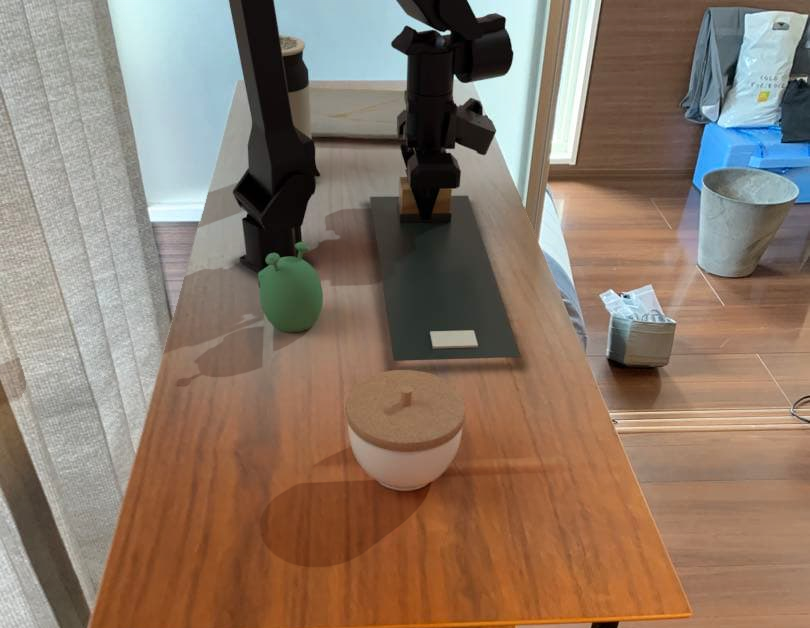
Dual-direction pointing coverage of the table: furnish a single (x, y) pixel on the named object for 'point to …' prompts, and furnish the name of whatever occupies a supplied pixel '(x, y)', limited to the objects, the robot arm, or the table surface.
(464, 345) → the smudge
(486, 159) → the table surface
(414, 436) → the trinket box
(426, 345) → the board
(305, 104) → the travel mug
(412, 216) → the eraser
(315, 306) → the alien toy
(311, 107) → the decorative slab
